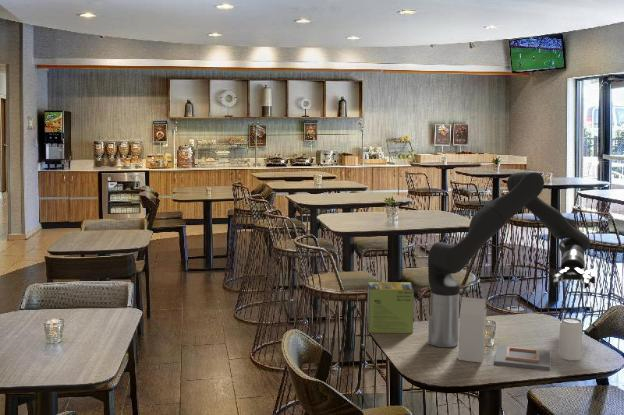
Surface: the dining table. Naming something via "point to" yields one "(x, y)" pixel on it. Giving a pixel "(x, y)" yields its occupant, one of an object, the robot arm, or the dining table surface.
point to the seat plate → (522, 357)
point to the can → (570, 339)
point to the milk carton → (472, 329)
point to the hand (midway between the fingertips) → (571, 285)
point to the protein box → (390, 307)
